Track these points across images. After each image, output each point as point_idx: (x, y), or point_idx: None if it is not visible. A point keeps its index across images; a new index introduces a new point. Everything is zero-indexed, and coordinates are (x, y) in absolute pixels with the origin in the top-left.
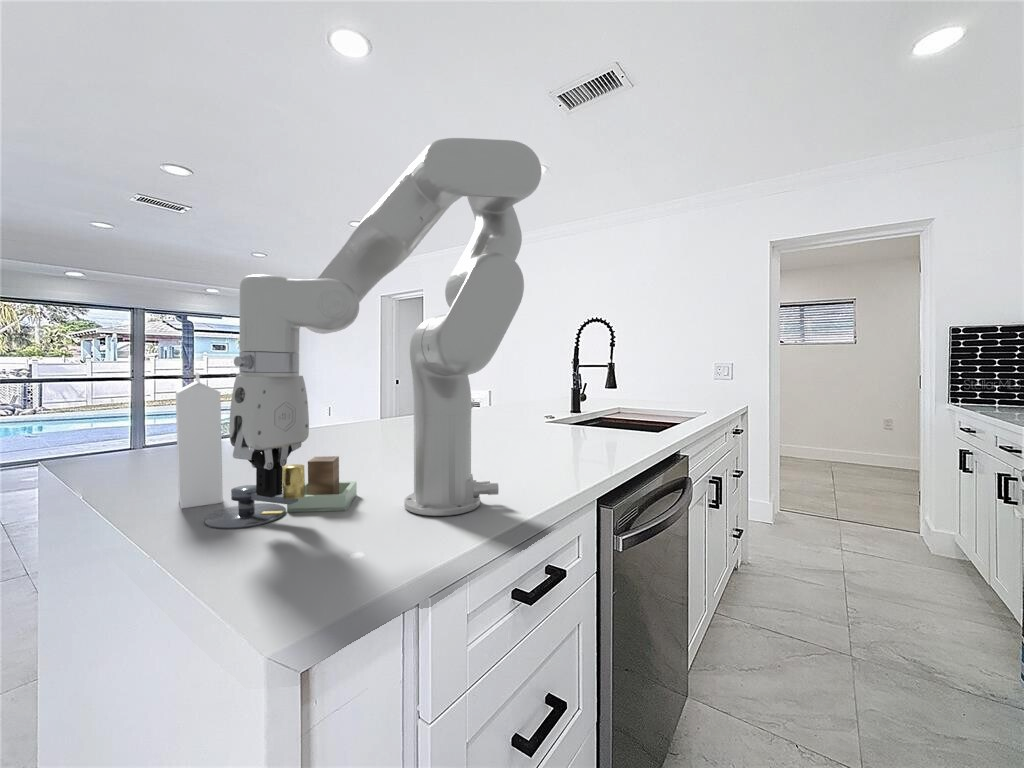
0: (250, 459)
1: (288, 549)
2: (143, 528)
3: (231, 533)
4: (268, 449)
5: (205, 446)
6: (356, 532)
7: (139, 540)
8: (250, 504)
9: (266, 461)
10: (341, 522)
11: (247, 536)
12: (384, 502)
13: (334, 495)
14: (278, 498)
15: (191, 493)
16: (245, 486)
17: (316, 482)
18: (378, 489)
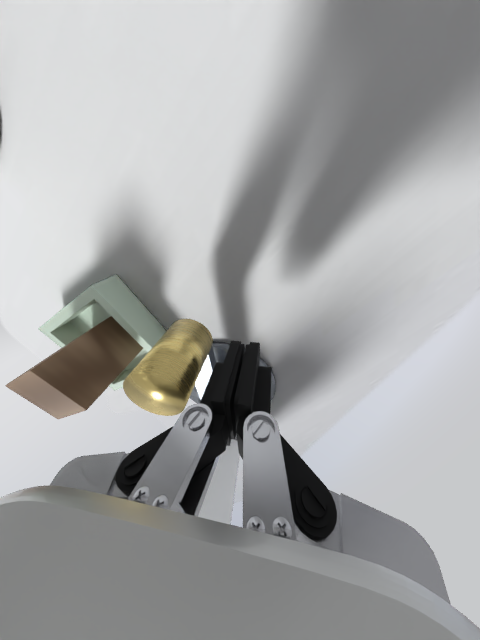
0: (345, 497)
1: (322, 207)
2: (302, 435)
3: (283, 356)
4: (263, 526)
5: None
6: (174, 129)
7: (336, 419)
8: None
9: (278, 451)
10: (157, 229)
11: (286, 329)
12: (33, 238)
13: (109, 304)
14: (210, 357)
15: (229, 456)
16: None
17: (110, 359)
18: (19, 303)
